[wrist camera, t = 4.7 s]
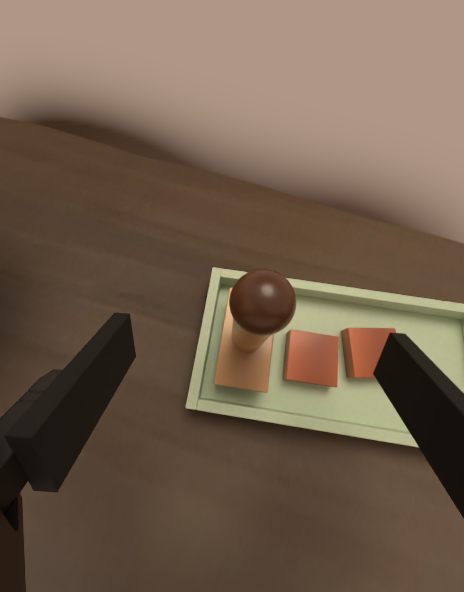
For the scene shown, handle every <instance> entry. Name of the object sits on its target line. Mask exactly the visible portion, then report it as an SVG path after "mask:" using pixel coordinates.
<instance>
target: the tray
mask: <svg viewBox="0 0 464 592" xmlns="http://www.w3.org/2000/svg"><path fill="white" fill-rule="evenodd" d="M246 273H248V272H242V271H235V270H228V269H221V268H215V267H213V269H212V274H211V279H210V284H209V290H208V295H207V300H206V305H205V310H204V315H203V320H202V325H201V331H200V336H199V341H198V346H197V351H196V356H195V361H194V366H193V372H192V377H191V382H190V387H189V392H188V397H187V402H186V407H185V408H187V409H192V410H199V411H205V412H211V413H217V414H222V415H228V416H234V417H240V418H246V419H252V420H258V421H264V422H270V423H276V424H282V425H288V426H294V427H300V428H306V429H312V430H317V431H323V432H329V433H335V434H341V435H347V436H353V437H359V438H365V439H371V440H377V441H383V442H389V443H395V444H401V445H407V446H412V447H418V448H419V446H418V445H417V443H416V442H415V440H414V439H413V437H412V435H411V434H410V432H409V431H408V429H407V427H406V426H405V424H404V423H403V421H402V419H401V418H400V416H399V415H398V413H397V411H396V410H395V408H394V407H393V405H392V403H391V402H390V400H389V399H388V397H387V396H386V394H385V392H384V391H383V389H382V388H381V386H380V384H379V383H378V381H377V380H376V378H347V377H346V369H345V360H344V352H343V344H342V336H341V331H342V330H344V329H346V328H395V329H396V333H405V334H406V335H407V336H408V337H409V338H410V339H411V340H412V341H413V342H414V343H415V344H416V345H417V346H418V347H419V348H420V349H421V350H422V351H423V352H424V353H425V354H426V355H427V356H428V357H429V358H430V359H431V360H432V361H433V362H434V363H435V364H436V365H437V366H438V368H439V369H440V370H441V371H442V372H443V373H444V374H445V375H446V376H447V377H448V378H449V379H450V380H451V381H452V382H453V383H454V384H455V385H456V386H457V387H458V388H459V389H460V390H461V391H462V392H463V393H464V304H460V303H453V302H447V301H440V300H433V299H426V298H419V297H412V296H406V295H399V294H392V293H385V292H378V291H371V290H365V289H358V288H351V287H344V286H337V285H330V284H324V283H317V282H310V281H303V280H296V279H289V278H286V279H287V280H288V281H289V282H290V284H291V285H292V287H293V289H294V292H295V295H296V310H295V314H294V316H293V318H292V320H291V321H290V323H289V324H288V325H287V326H286V327H285V328H284V329H283V330H281V331H279V332H277V333H275V334H274V337H273V347H272V356H271V366H270V376H269V385H268V393H263V392H257V391H251V390H245V389H239V388H233V387H227V386H220V385H214V384H213V382H214V376H215V370H216V364H217V358H218V353H219V347H220V341H221V335H222V329H223V323H224V317H225V311H226V305H227V299H228V293H229V288H233V286H234V285H235V283H236V282H237V281H238V279H239V278H240V277H242V276H243V275H245V274H246ZM290 329H292V330H298V331H305V332H311V333H318V334H324V335H331V336H337V337H339V338H338V382H337V387H327V386H321V385H315V384H309V383H303V382H296V381H290V380H284V379H283V368H284V357H285V345H286V334H287V332H288V331H289V330H290Z"/></svg>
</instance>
